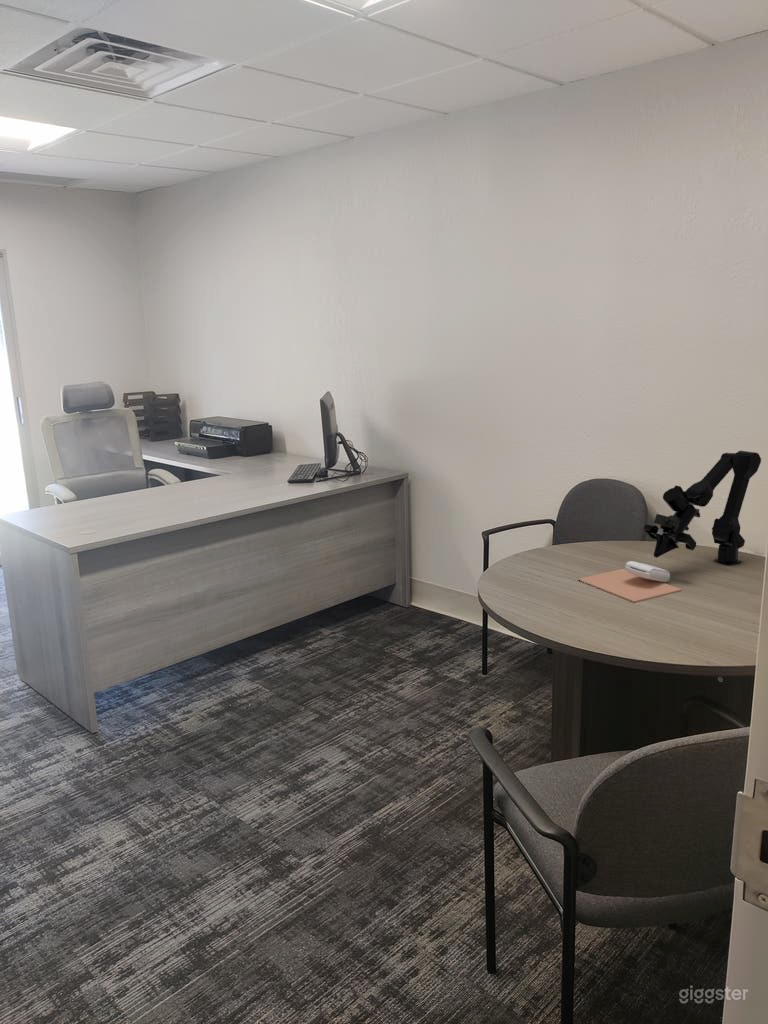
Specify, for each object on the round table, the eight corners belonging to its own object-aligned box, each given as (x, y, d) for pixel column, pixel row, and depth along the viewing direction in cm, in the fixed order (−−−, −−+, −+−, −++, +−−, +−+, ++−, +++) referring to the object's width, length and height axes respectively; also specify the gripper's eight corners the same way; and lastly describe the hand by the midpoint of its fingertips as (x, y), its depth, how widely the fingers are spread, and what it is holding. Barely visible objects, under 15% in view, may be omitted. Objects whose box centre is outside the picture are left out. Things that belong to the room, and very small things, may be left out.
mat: (623, 570, 266) (623, 568, 266) (681, 590, 244) (681, 589, 243) (577, 580, 258) (577, 578, 258) (634, 602, 235) (634, 601, 235)
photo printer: (641, 575, 259) (620, 571, 251) (645, 563, 259) (624, 558, 251) (668, 584, 251) (647, 580, 243) (672, 571, 251) (651, 567, 243)
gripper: (648, 500, 260) (622, 536, 258) (691, 510, 244) (664, 549, 242) (664, 519, 265) (638, 555, 263) (708, 530, 249) (681, 569, 247)
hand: (655, 556), depth 254 cm, fingers closed
